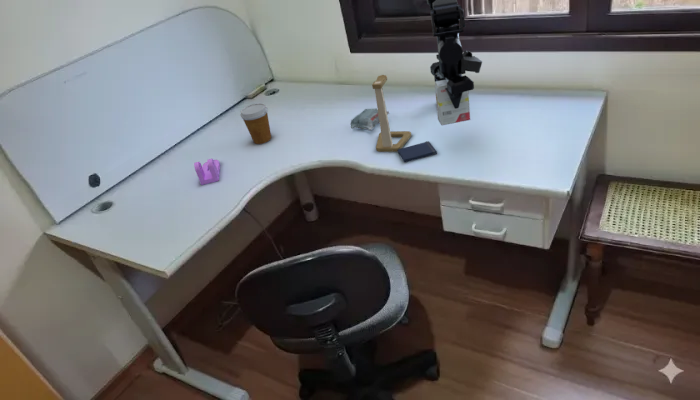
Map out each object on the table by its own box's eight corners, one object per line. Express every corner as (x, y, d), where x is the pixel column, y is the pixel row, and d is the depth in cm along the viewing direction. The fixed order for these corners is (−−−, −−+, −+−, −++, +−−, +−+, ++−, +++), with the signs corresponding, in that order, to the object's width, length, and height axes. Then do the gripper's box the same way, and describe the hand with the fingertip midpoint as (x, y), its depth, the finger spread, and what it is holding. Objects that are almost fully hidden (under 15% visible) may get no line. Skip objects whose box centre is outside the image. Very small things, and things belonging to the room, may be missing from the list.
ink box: (466, 113, 152) (464, 75, 145) (470, 120, 147) (468, 81, 141) (437, 118, 152) (433, 80, 146) (440, 126, 148) (437, 87, 141)
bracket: (218, 180, 163) (211, 161, 159) (201, 185, 163) (193, 166, 159) (220, 161, 174) (213, 143, 170) (204, 165, 174) (197, 147, 170)
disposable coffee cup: (281, 136, 182) (272, 104, 175) (260, 148, 176) (250, 116, 170) (264, 131, 188) (255, 100, 181) (244, 143, 182) (233, 112, 176)
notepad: (429, 143, 158) (428, 140, 157) (437, 154, 152) (436, 151, 151) (397, 152, 157) (397, 149, 156) (404, 163, 151) (404, 159, 150)
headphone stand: (412, 134, 164) (403, 68, 152) (404, 152, 156) (394, 83, 144) (380, 135, 168) (369, 70, 156) (371, 152, 160) (358, 85, 148)
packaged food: (390, 119, 177) (387, 105, 174) (371, 135, 169) (369, 121, 167) (368, 116, 182) (366, 104, 179) (350, 132, 174) (347, 119, 172)
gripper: (491, 54, 131) (493, 110, 140) (465, 35, 147) (468, 86, 155) (449, 64, 131) (454, 120, 139) (427, 44, 146) (432, 95, 155)
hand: (453, 104), depth 147 cm, fingers closed on ink box, 5 cm apart
